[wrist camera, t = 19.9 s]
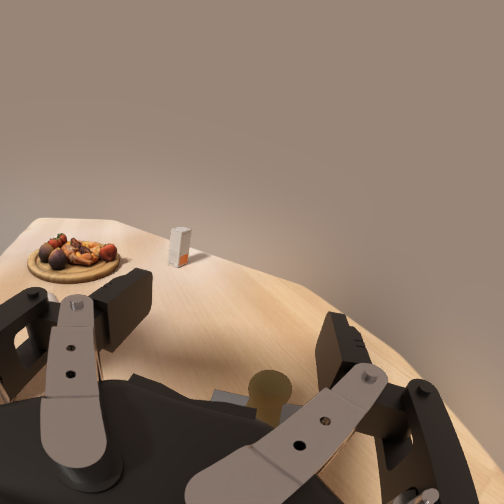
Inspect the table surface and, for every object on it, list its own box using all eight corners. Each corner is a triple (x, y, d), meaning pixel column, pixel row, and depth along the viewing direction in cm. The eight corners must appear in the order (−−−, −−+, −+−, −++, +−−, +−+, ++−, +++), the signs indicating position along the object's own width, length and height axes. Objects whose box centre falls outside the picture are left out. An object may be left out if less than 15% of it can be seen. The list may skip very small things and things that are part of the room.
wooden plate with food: (133, 255, 90) (134, 232, 87) (91, 295, 59) (89, 264, 57) (62, 241, 87) (61, 220, 84) (9, 271, 56) (6, 245, 54)
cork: (252, 409, 37) (267, 356, 34) (285, 429, 33) (307, 378, 30) (225, 430, 32) (236, 377, 29) (260, 454, 29) (280, 405, 25)
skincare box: (178, 268, 85) (181, 232, 82) (167, 264, 87) (170, 228, 83) (188, 263, 91) (192, 228, 88) (177, 260, 92) (181, 226, 89)
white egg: (57, 308, 50) (54, 285, 48) (64, 320, 47) (61, 297, 45) (29, 315, 43) (24, 292, 42) (34, 328, 40) (29, 304, 39)
